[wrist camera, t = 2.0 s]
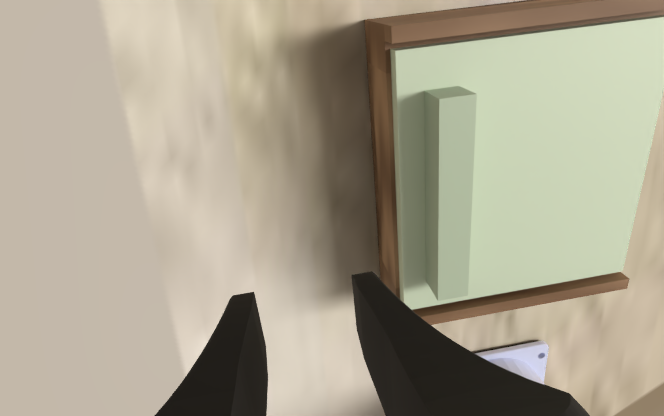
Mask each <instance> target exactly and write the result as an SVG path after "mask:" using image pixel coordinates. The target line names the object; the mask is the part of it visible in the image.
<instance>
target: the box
mask: <svg viewBox="0 0 664 416" xmlns="http://www.w3.org/2000/svg"><path fill="white" fill-rule="evenodd" d="M656 15H664V0H527V1H519V2H510V3H502V4H493V5H485V6H476V7H468V8H460V9H451V10H443V11H434V12H426V13H417V14H409V15H401V16H392V17H384V18H375V19H367V20H365V36H366V52H367V68H368V84H369V100H370V116H371V133H372V149H373V165H374V181H375V197H376V213H377V229H378V246H379V262H380V278H381V281H382V282H383V283H384V284H385V285H386V286H387V287H388V288H389V289H390V290H391V291H392V292H393V293H394V294H395V295H396V296H397V297H398V298H399V299H400V283H399V258H398V232H397V207H396V181H395V156H394V131H393V105H392V80H391V54H390V49H393V48H401V47H409V46H417V45H425V44H433V43H441V42H449V41H456V40H464V39H472V38H480V37H488V36H496V35H504V34H512V33H520V32H528V31H536V30H544V29H552V28H560V27H568V26H576V25H584V24H592V23H600V22H608V21H616V20H624V19H632V18H640V17H648V16H656ZM628 282H629V278H628V277H626V276H625V275H624V274H622V273H621V272H616V273H611V274H605V275H600V276H594V277H589V278H583V279H578V280H572V281H567V282H561V283H556V284H550V285H545V286H539V287H534V288H528V289H523V290H517V291H512V292H506V293H501V294H495V295H490V296H484V297H479V298H473V299H468V300H463V301H457V302H452V303H446V304H441V305H435V306H430V307H424V308H419V309H413V311H414V312H415V313H416V314H417V315H418V316H420V317H421V318H422V319H423V320H425V321H426V322H427V323H429V324H430V325H433V324H438V323H443V322H449V321H454V320H459V319H465V318H470V317H476V316H481V315H486V314H492V313H497V312H502V311H508V310H513V309H519V308H524V307H529V306H535V305H540V304H545V303H551V302H556V301H562V300H567V299H572V298H578V297H583V296H588V295H594V294H599V293H605V292H610V291H615V290H621V289H626V288H627V286H628Z"/></svg>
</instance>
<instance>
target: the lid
mask: <svg viewBox="0 0 664 416" xmlns="http://www.w3.org/2000/svg"><path fill="white" fill-rule="evenodd" d="M390 54H391V80H392V105H393V131H394V156H395V181H396V207H397V232H398V258H399V283H400V300H401V301H402V302H404V303H405V304H406V305H407V306H408V307H409V308H410V309H411V310H413V309H419V308H424V307H430V306H435V305H441V304H446V303H452V302H457V301H463V300H468V299H473V298H479V297H484V296H490V295H495V294H501V293H506V292H512V291H517V290H523V289H528V288H534V287H539V286H545V285H550V284H556V283H561V282H567V281H572V280H578V279H583V278H589V277H594V276H600V275H605V274H611V273H616V272H622V271H623V267H624V263H625V258H626V254H627V250H628V245H629V241H630V236H631V232H632V228H633V223H634V219H635V214H636V210H637V206H638V201H639V197H640V192H641V188H642V184H643V179H644V175H645V171H646V166H647V162H648V157H649V153H650V149H651V144H652V140H653V135H654V131H655V127H656V122H657V118H658V113H659V109H660V105H661V100H662V96H663V91H664V15H656V16H648V17H640V18H632V19H624V20H616V21H608V22H600V23H592V24H584V25H576V26H568V27H560V28H552V29H544V30H536V31H528V32H520V33H512V34H504V35H496V36H488V37H480V38H472V39H464V40H456V41H449V42H441V43H433V44H425V45H417V46H409V47H401V48H393V49H390Z"/></svg>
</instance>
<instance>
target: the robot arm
mask: <svg viewBox="0 0 664 416" xmlns="http://www.w3.org/2000/svg"><path fill="white" fill-rule="evenodd" d="M352 284H353V294H354V305H355V315H356V326H357V332H358V336H359V340H360V344H361V348H362V352H363V355H364V359H365V362H366V365H367V367H368V370H369V373H370V375H371V378H372V381H373V383H374V386H375V388H376V391H377V394H378V396H379V399H380V402H381V404H382V407H383V409H384V412H385V415H386V416H590V415H589V414H588V413H587V412H586V411H585V409H584V408H583V407H582V406H581V405H580V404H579V403H578V402H577V401H576V400H575V399H574V398H573V397H572V396H571V395H570V394H569V393H567V392H564V391H561V390H558V389H555V388H552V387H550V386H547V385H545V384H544V376H545V370H546V363H547V357H548V350H549V346H548V345H547V344H546V343H545V342H544V341H537V342H532V343H526V344H521V345H516V346H511V347H506V348H501V349H496V350H490V351H485V352H480V353H475V354H474V353H472V352H471V351H469V350H467V349H465V348H464V347H462V346H460V345H459V344H457V343H455V342H454V341H452V340H451V339H449V338H448V337H446V336H445V335H443V334H442V333H441V332H439V331H438V330H436V329H435V328H434V327H432V326H431V325H430V324H429V323H427V322H426V321H425V320H423V319H422V318H421V317H420V316H418V315H417V314H416V313H415V312H414V311H413V310H411V309H410V308H409V307H408V306H407V305H406V304H405V303H404V302H402V301H401V300H400V299H399V298H398V297H397V296H396V295H395V294H394V293H393V292H392V291H391V290H390V289H389V288H388V287H387V286H386V285H385V284H384V283H383V282H382V281H381V280H380V279H379V278H378V277H377V275H376V274H374V273H373V272H367V273H361V274H355V275H352ZM267 387H268V372H267V357H266V345H265V340H264V336H263V331H262V327H261V322H260V317H259V313H258V308H257V304H256V299H255V294H254V292H251V293H245V294H239V295H233V296H232V297H231V299H230V300H229V302H228V305H227V307H226V309H225V311H224V313H223V315H222V317H221V319H220V321H219V323H218V325H217V327H216V329H215V331H214V332H213V334H212V336H211V338H210V340H209V341H208V343H207V345H206V347H205V348H204V350H203V352H202V353H201V355H200V356H199V358H198V359H197V361H196V362H195V364H194V365H193V367H192V368H191V370H190V371H189V373H188V374H187V376H186V377H185V379H184V380H183V381H182V383H181V384H180V386H179V387H178V388H177V389H176V391H175V392H174V393H173V394H172V396H171V397H170V398H169V400H168V401H167V402H166V403H165V404H164V406H163V407H162V408H161V409H160V410H159V411H158V413H157V414H156V415H155V416H266V409H267Z"/></svg>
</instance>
